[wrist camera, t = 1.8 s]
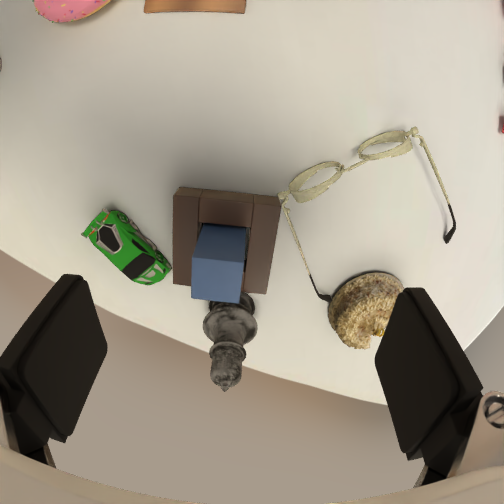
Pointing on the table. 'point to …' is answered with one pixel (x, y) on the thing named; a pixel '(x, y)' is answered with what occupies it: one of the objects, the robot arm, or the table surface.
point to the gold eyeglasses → (319, 189)
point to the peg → (218, 263)
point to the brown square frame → (226, 213)
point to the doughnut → (68, 9)
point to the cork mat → (195, 6)
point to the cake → (363, 308)
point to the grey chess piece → (229, 338)
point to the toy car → (127, 247)
